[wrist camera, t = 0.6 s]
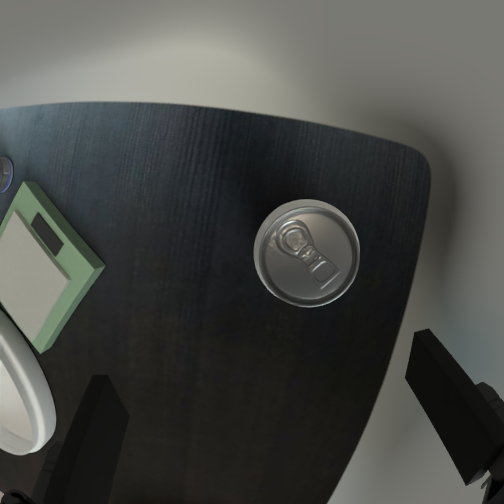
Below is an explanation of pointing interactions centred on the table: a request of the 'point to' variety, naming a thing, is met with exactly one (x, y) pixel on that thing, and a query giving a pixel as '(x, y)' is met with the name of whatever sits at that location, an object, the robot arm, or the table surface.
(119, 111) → the table surface
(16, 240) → the kitchen scale
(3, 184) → the pill bottle
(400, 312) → the table surface
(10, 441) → the white round shallow dish
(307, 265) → the can
